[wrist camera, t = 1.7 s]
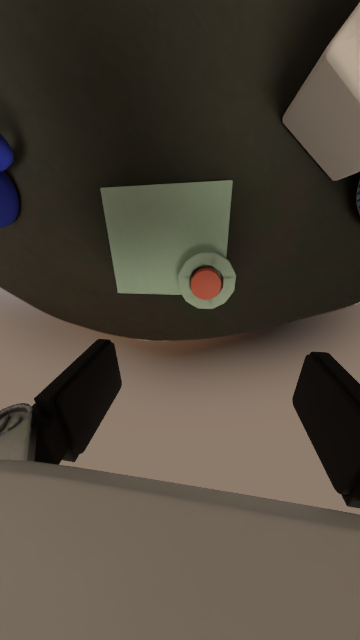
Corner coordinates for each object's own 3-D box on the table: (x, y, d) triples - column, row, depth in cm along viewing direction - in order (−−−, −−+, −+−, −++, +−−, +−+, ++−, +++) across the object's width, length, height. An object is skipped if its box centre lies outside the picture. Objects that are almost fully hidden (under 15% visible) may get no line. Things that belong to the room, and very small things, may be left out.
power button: (221, 267, 19) (222, 270, 17) (219, 295, 20) (220, 300, 19) (192, 267, 19) (190, 270, 18) (191, 294, 21) (190, 299, 19)
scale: (241, 182, 18) (247, 173, 15) (229, 300, 23) (232, 309, 20) (105, 190, 20) (89, 183, 17) (123, 297, 25) (112, 305, 22)
